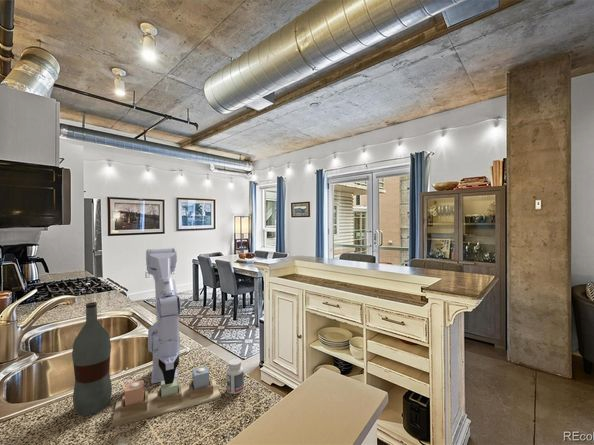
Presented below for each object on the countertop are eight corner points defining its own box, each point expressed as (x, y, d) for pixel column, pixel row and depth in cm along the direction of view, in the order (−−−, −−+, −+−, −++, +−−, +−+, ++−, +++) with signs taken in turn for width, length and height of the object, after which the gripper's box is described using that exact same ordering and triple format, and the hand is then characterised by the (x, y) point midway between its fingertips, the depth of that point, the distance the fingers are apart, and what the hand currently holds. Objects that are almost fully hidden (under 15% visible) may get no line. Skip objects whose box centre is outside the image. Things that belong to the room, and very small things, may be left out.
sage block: (161, 396, 88) (160, 380, 88) (176, 392, 90) (176, 377, 89) (161, 404, 84) (161, 388, 84) (177, 400, 86) (177, 384, 85)
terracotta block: (126, 399, 84) (126, 382, 84) (143, 395, 86) (143, 379, 86) (125, 408, 80) (124, 391, 80) (143, 403, 82) (142, 386, 82)
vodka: (117, 395, 89) (116, 298, 89) (102, 415, 80) (101, 307, 80) (84, 398, 88) (82, 299, 88) (65, 419, 79) (63, 309, 79)
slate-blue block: (192, 383, 91) (192, 368, 91) (207, 379, 93) (207, 365, 93) (194, 390, 88) (194, 375, 87) (209, 386, 89) (209, 371, 89)
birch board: (116, 403, 85) (116, 393, 85) (214, 380, 98) (214, 371, 98) (111, 427, 76) (111, 416, 76) (220, 398, 88) (220, 388, 88)
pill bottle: (245, 385, 94) (245, 358, 94) (241, 394, 89) (240, 366, 89) (229, 384, 95) (229, 357, 95) (224, 394, 90) (223, 365, 90)
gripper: (153, 331, 91) (154, 374, 91) (153, 349, 78) (154, 400, 78) (178, 327, 94) (178, 369, 94) (181, 344, 81) (182, 393, 81)
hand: (169, 382), depth 87 cm, fingers closed, pressing on sage block
